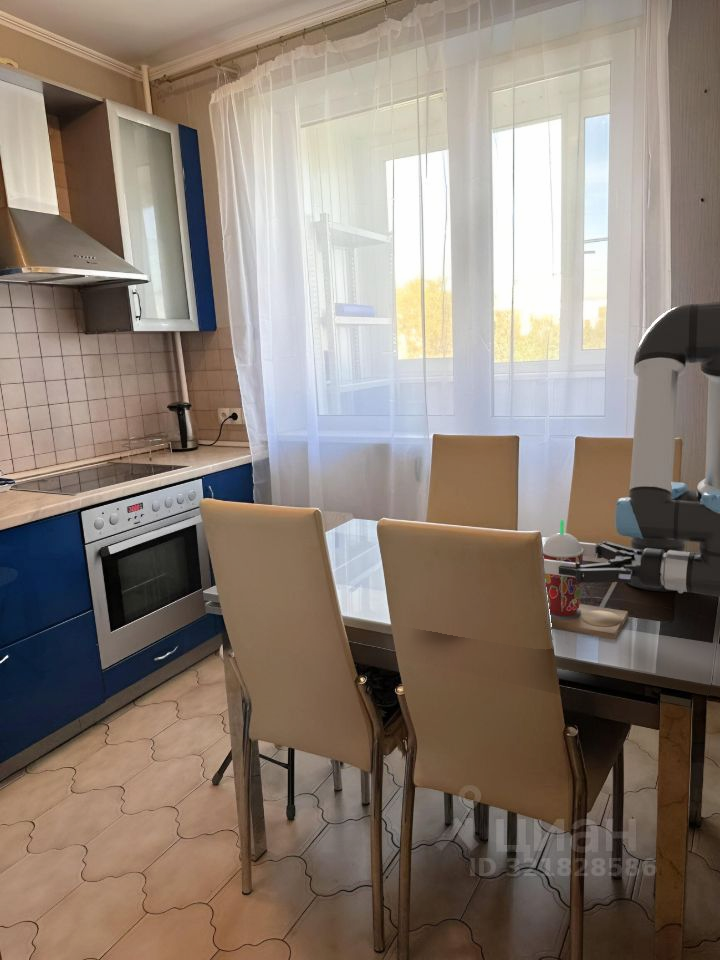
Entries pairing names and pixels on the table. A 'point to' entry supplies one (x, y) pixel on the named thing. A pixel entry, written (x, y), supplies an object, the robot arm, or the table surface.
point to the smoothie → (559, 587)
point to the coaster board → (592, 621)
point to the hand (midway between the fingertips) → (554, 556)
